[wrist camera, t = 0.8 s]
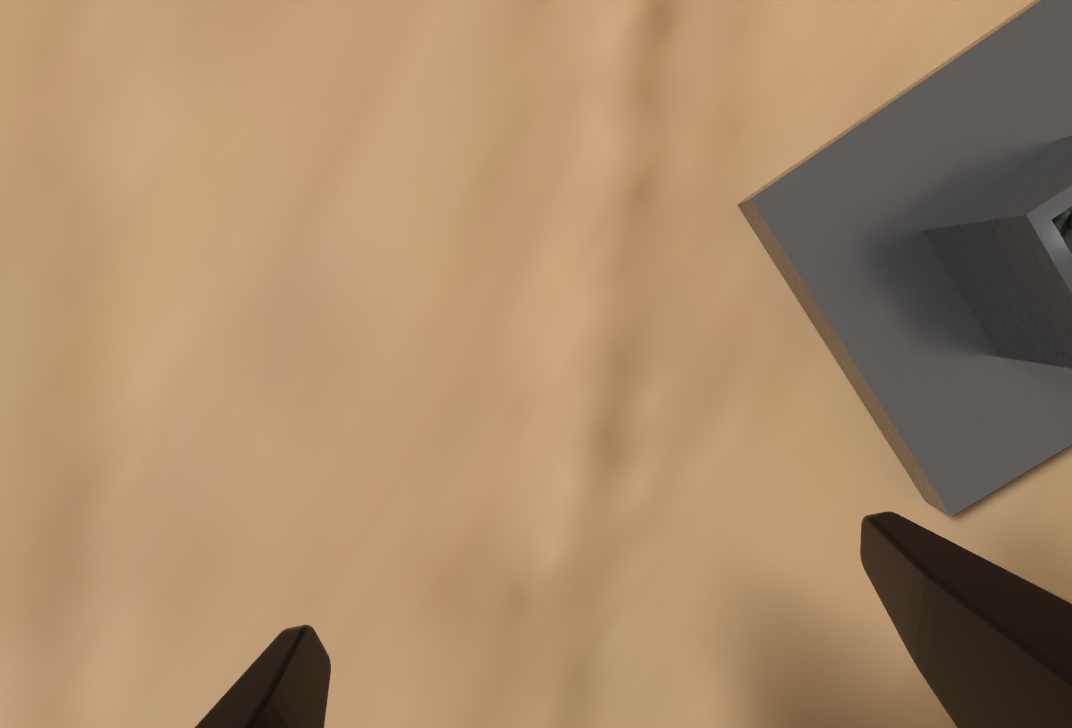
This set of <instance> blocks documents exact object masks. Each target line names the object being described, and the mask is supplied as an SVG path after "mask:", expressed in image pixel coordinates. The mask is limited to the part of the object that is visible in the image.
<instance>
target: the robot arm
mask: <svg viewBox="0 0 1072 728" xmlns="http://www.w3.org/2000/svg"><path fill="white" fill-rule="evenodd" d="M860 556H861V561H862V564H863V567H864V569H865V571H866V573H867V575H868V577H869V579H870V581H871V583H872V584H873V586H874V588H875V590H876V592H877V594H878V596H879V598H880V599H881V601H882V603H883V605H884V607H885V609H886V611H887V613H888V615H889V616H890V618H891V620H892V622H893V624H894V626H895V628H896V630H897V631H898V633H899V635H900V637H901V639H902V641H903V643H904V645H905V647H906V648H907V650H908V652H909V654H910V655H911V657H912V659H913V661H914V663H915V664H916V666H917V667H918V669H919V671H920V672H921V674H922V675H923V677H924V678H925V680H926V681H927V683H928V684H929V686H930V687H931V689H932V690H933V692H934V693H935V695H936V696H937V698H938V699H939V701H940V702H941V704H942V705H943V707H944V708H945V710H946V711H947V713H948V714H949V716H950V717H951V719H952V720H953V722H954V723H955V725H956V726H957V728H1072V604H1071V603H1069V602H1067V601H1065V600H1063V599H1062V598H1060V597H1058V596H1056V595H1054V594H1052V593H1050V592H1048V591H1046V590H1044V589H1042V588H1040V587H1038V586H1036V585H1034V584H1032V583H1030V582H1028V581H1026V580H1025V579H1023V578H1021V577H1019V576H1017V575H1015V574H1013V573H1011V572H1009V571H1007V570H1005V569H1003V568H1001V567H999V566H997V565H995V564H993V563H991V562H990V561H988V560H986V559H984V558H982V557H980V556H978V555H976V554H974V553H972V552H970V551H968V550H966V549H964V548H962V547H960V546H958V545H956V544H954V543H953V542H951V541H949V540H947V539H945V538H943V537H941V536H939V535H937V534H935V533H933V532H931V531H929V530H927V529H925V528H923V527H921V526H919V525H918V524H916V523H914V522H912V521H910V520H908V519H906V518H904V517H902V516H900V515H898V514H896V513H893V512H882V513H877V514H872V515H867V516H865V517H864V518H863V520H862V524H861V549H860ZM330 673H331V664H330V659H329V656H328V654H327V652H326V650H325V648H324V646H323V645H322V643H321V641H320V639H319V637H318V636H317V634H316V632H315V630H314V629H313V627H311V626H310V625H302V626H296V627H291V628H287V629H285V630H283V631H282V632H281V633H280V634H279V635H278V636H277V637H276V638H275V639H274V641H273V642H272V643H271V644H270V645H269V646H268V647H267V648H266V649H265V651H264V652H263V653H262V654H261V655H260V656H259V657H258V658H257V659H256V660H255V662H254V663H253V664H252V665H251V666H250V667H249V668H248V669H247V670H246V672H245V673H244V674H243V675H242V676H241V677H240V678H239V679H238V680H237V681H236V683H235V684H234V685H233V686H232V687H231V688H230V689H229V690H228V691H227V693H226V694H225V695H224V696H223V697H222V698H221V699H220V700H219V701H218V702H217V704H216V705H215V706H214V707H213V708H212V709H211V710H210V711H209V712H208V714H207V715H206V716H205V717H204V718H203V719H202V720H201V721H200V722H199V723H198V725H197V726H196V727H195V728H324V722H325V714H326V706H327V698H328V690H329V681H330Z"/></svg>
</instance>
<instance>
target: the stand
mask: <svg viewBox="0 0 1072 728" xmlns="http://www.w3.org/2000/svg"><path fill="white" fill-rule="evenodd" d="M737 205H738V206H739V208H740V209H741V211H742V212H743V214H744V216H745V217H746V219H747V220H748V222H749V223H750V225H751V227H752V228H753V230H754V231H755V233H756V235H757V236H758V238H759V239H760V241H761V242H762V244H763V246H764V247H765V249H766V250H767V252H768V253H769V255H770V257H771V258H772V260H773V261H774V263H775V264H776V266H777V268H778V269H779V271H780V272H781V274H782V276H783V277H784V279H785V280H786V282H787V283H788V285H789V287H790V288H791V290H792V291H793V293H794V294H795V296H796V298H797V299H798V301H799V302H800V304H801V305H802V307H803V309H804V310H805V312H806V313H807V315H808V317H809V318H810V320H811V321H812V323H813V324H814V326H815V328H816V329H817V331H818V332H819V334H820V335H821V337H822V339H823V340H824V342H825V343H826V345H827V346H828V348H829V350H830V351H831V353H832V354H833V356H834V358H835V359H836V361H837V362H838V364H839V365H840V367H841V369H842V370H843V372H844V373H845V375H846V376H847V378H848V380H849V381H850V383H851V384H852V386H853V388H854V389H855V391H856V392H857V394H858V395H859V397H860V399H861V400H862V402H863V403H864V405H865V406H866V408H867V410H868V411H869V413H870V414H871V416H872V417H873V419H874V421H875V422H876V424H877V425H878V427H879V429H880V430H881V432H882V433H883V435H884V436H885V438H886V440H887V441H888V443H889V444H890V446H891V447H892V449H893V451H894V452H895V454H896V455H897V457H898V458H899V460H900V462H901V463H902V465H903V466H904V468H905V470H906V471H907V473H908V474H909V476H910V477H911V479H912V481H913V482H914V484H915V485H916V487H917V488H918V490H919V492H920V493H921V495H922V496H923V498H924V500H925V501H926V502H927V503H929V504H931V505H932V506H934V507H936V508H938V509H939V510H941V511H943V512H945V513H946V514H948V515H950V516H951V517H952V516H953V515H955V514H957V513H958V512H960V511H962V510H963V509H965V508H967V507H968V506H970V505H972V504H973V503H975V502H977V501H978V500H980V499H982V498H983V497H985V496H987V495H988V494H990V493H992V492H993V491H995V490H997V489H998V488H1000V487H1002V486H1003V485H1005V484H1007V483H1008V482H1010V481H1012V480H1013V479H1015V478H1017V477H1018V476H1020V475H1022V474H1023V473H1025V472H1027V471H1028V470H1030V469H1032V468H1033V467H1035V466H1037V465H1038V464H1040V463H1042V462H1043V461H1045V460H1047V459H1048V458H1050V457H1052V456H1053V455H1055V454H1057V453H1058V452H1060V451H1062V450H1063V449H1065V448H1067V447H1068V446H1070V445H1072V254H1071V252H1070V251H1069V249H1068V247H1067V245H1066V244H1065V242H1064V240H1063V238H1062V237H1061V235H1060V233H1059V231H1058V230H1057V228H1056V226H1055V224H1054V223H1053V221H1052V219H1053V218H1055V217H1056V216H1058V215H1059V214H1061V213H1063V212H1064V211H1066V210H1067V209H1069V208H1070V207H1072V0H1035V1H1034V2H1032V3H1031V4H1030V5H1028V6H1027V7H1025V8H1024V9H1022V10H1021V11H1019V12H1018V13H1016V14H1015V15H1013V16H1012V17H1011V18H1009V19H1008V20H1006V21H1005V22H1003V23H1002V24H1000V25H999V26H997V27H996V28H994V29H993V30H992V31H990V32H989V33H987V34H986V35H984V36H983V37H981V38H980V39H978V40H977V41H975V42H974V43H973V44H971V45H970V46H968V47H967V48H965V49H964V50H962V51H961V52H959V53H958V54H956V55H955V56H954V57H952V58H951V59H949V60H948V61H946V62H945V63H943V64H942V65H940V66H939V67H937V68H936V69H935V70H933V71H932V72H930V73H929V74H927V75H926V76H924V77H923V78H921V79H920V80H919V81H917V82H916V83H914V84H913V85H911V86H910V87H908V88H907V89H905V90H904V91H902V92H901V93H900V94H898V95H897V96H895V97H894V98H892V99H891V100H889V101H888V102H886V103H885V104H883V105H882V106H881V107H879V108H878V109H876V110H875V111H873V112H872V113H870V114H869V115H867V116H866V117H864V118H863V119H862V120H860V121H859V122H857V123H856V124H854V125H853V126H851V127H850V128H848V129H847V130H845V131H844V132H843V133H841V134H840V135H838V136H837V137H835V138H834V139H832V140H831V141H829V142H828V143H826V144H825V145H824V146H822V147H821V148H819V149H818V150H816V151H815V152H813V153H812V154H810V155H809V156H807V157H806V158H805V159H803V160H802V161H800V162H799V163H797V164H796V165H794V166H793V167H791V168H790V169H789V170H787V171H786V172H784V173H783V174H781V175H780V176H778V177H777V178H775V179H774V180H772V181H771V182H770V183H768V184H767V185H765V186H764V187H762V188H761V189H759V190H758V191H756V192H755V193H753V194H752V195H751V196H749V197H748V198H746V199H745V200H743V201H742V202H740V203H739V204H737Z"/></svg>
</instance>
